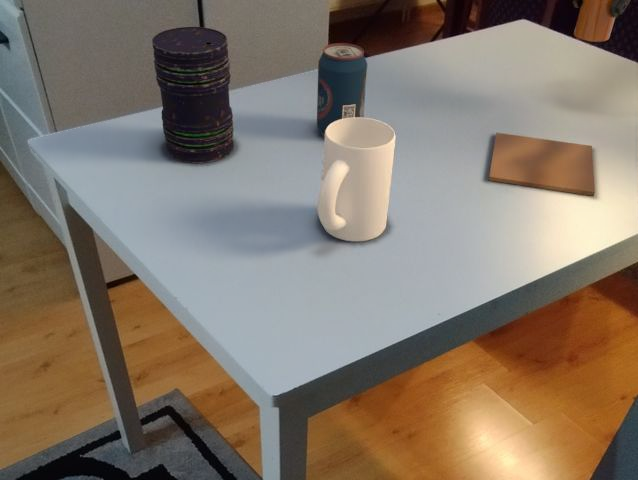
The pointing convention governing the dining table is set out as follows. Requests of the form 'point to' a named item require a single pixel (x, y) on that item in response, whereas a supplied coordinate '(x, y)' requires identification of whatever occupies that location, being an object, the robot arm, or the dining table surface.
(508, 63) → the dining table surface
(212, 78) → the dark ridged cylinder
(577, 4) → the robot arm
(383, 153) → the mug
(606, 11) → the jar
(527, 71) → the dining table surface
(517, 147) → the mat
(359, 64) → the soda can
